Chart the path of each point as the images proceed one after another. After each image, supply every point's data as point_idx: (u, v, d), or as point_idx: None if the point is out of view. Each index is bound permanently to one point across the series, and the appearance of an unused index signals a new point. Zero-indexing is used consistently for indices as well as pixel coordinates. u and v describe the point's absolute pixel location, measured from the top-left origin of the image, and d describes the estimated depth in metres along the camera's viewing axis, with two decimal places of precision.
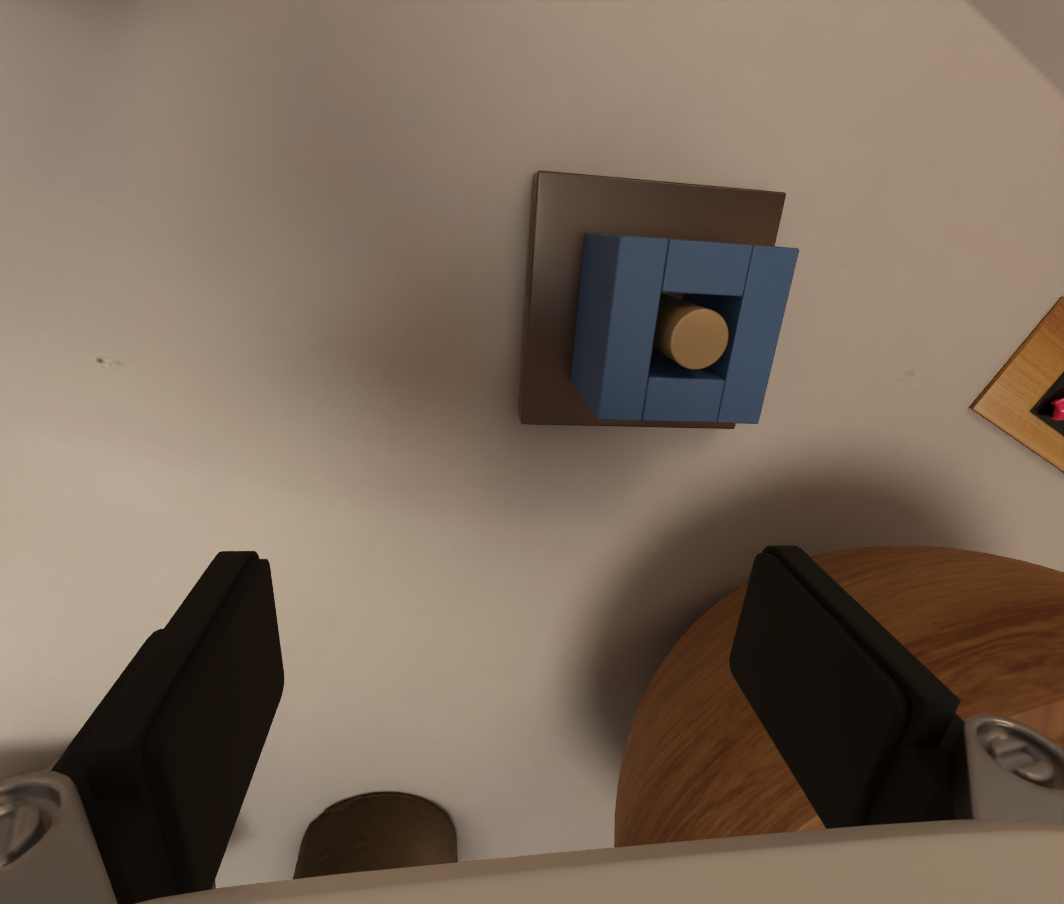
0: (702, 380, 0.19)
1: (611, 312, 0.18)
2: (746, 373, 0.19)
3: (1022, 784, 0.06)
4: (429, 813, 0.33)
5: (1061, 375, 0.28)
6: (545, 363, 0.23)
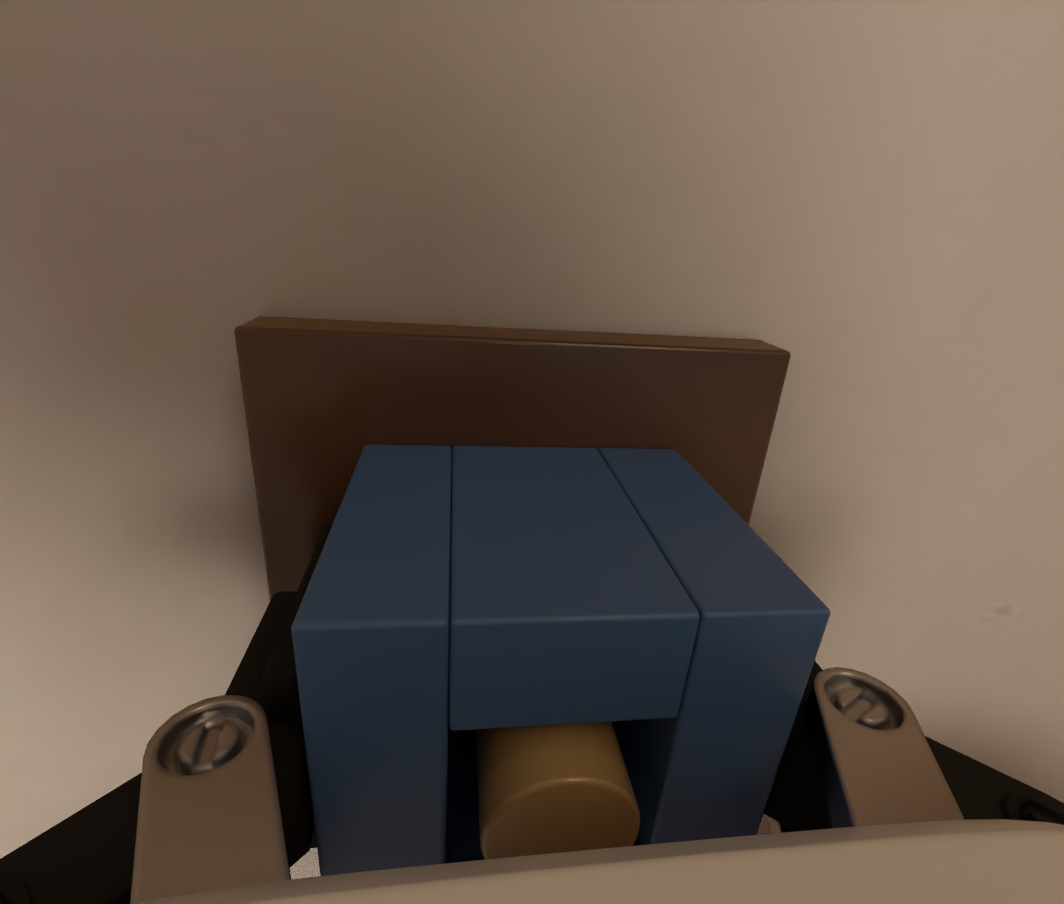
0: None
1: None
2: None
3: (869, 733, 0.07)
4: None
5: None
6: None
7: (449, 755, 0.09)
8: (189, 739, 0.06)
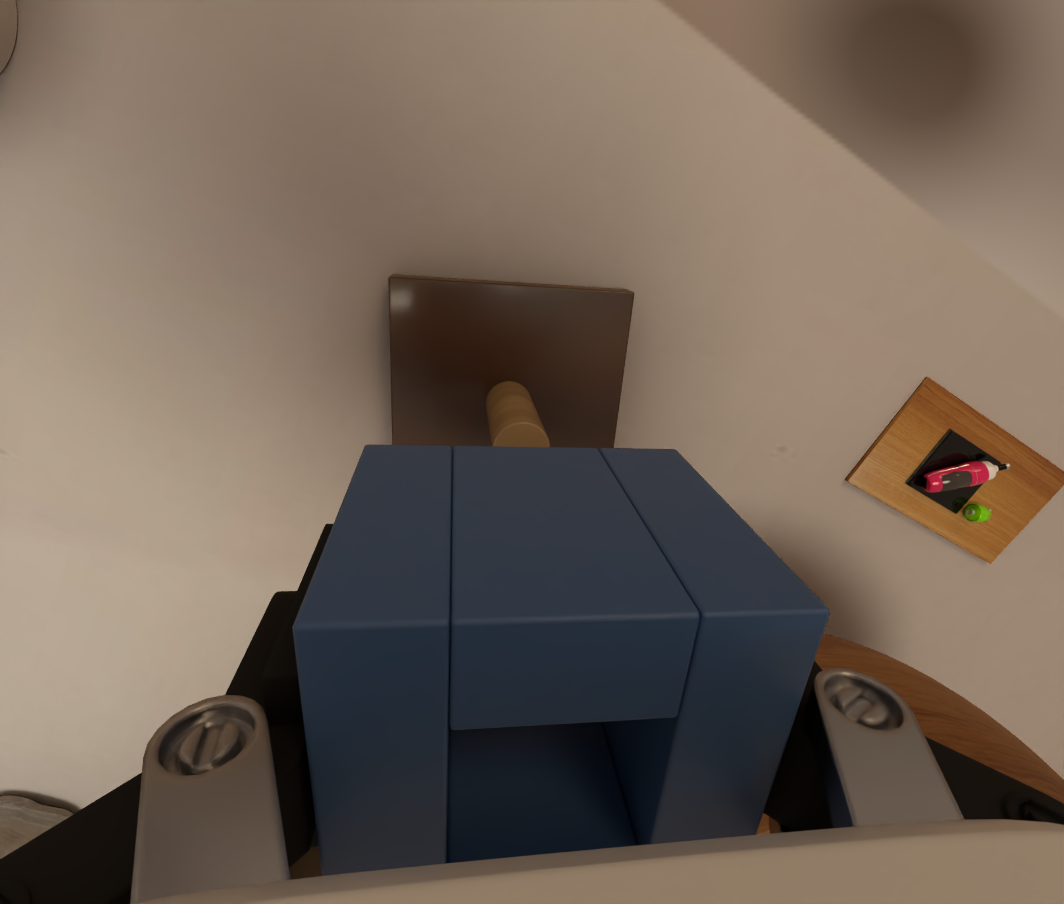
0: None
1: (311, 784, 0.06)
2: None
3: (869, 733, 0.07)
4: None
5: (933, 450, 0.29)
6: None
7: (450, 754, 0.09)
8: (189, 739, 0.06)
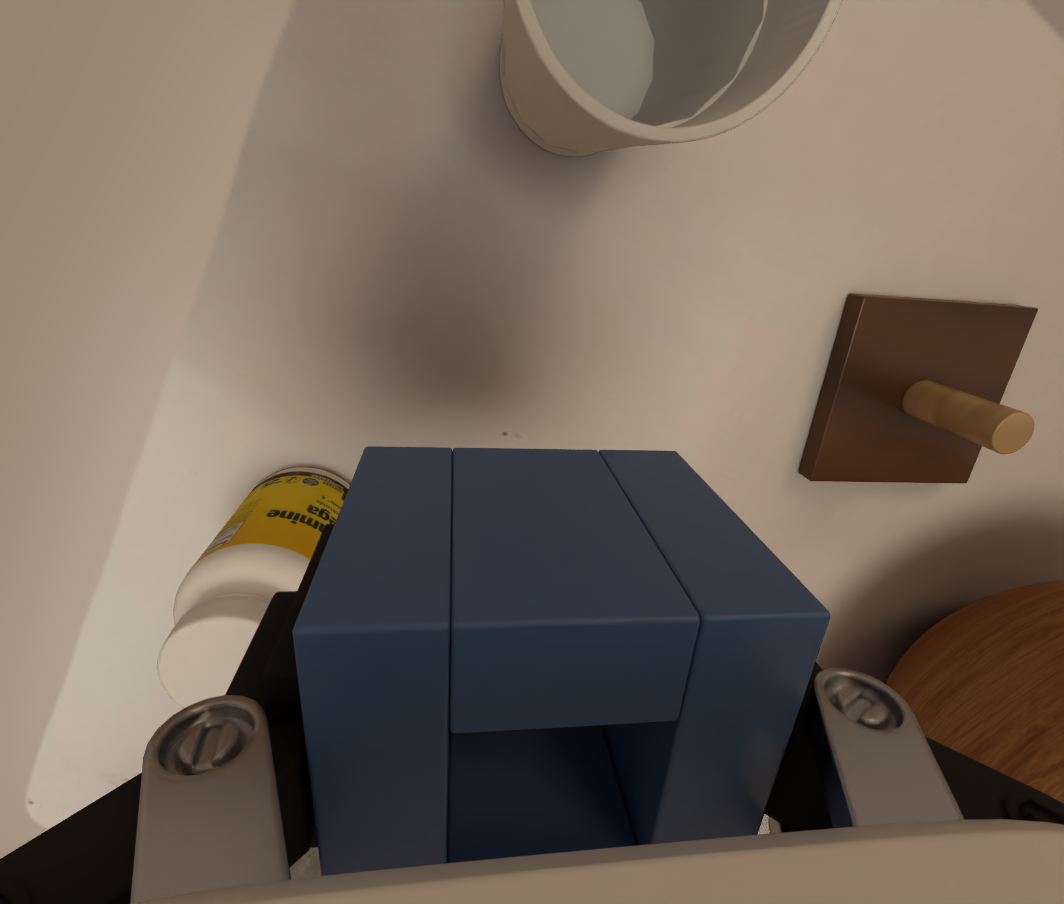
0: None
1: None
2: None
3: (868, 733, 0.07)
4: None
5: None
6: (838, 435, 0.30)
7: (450, 757, 0.09)
8: (189, 739, 0.06)
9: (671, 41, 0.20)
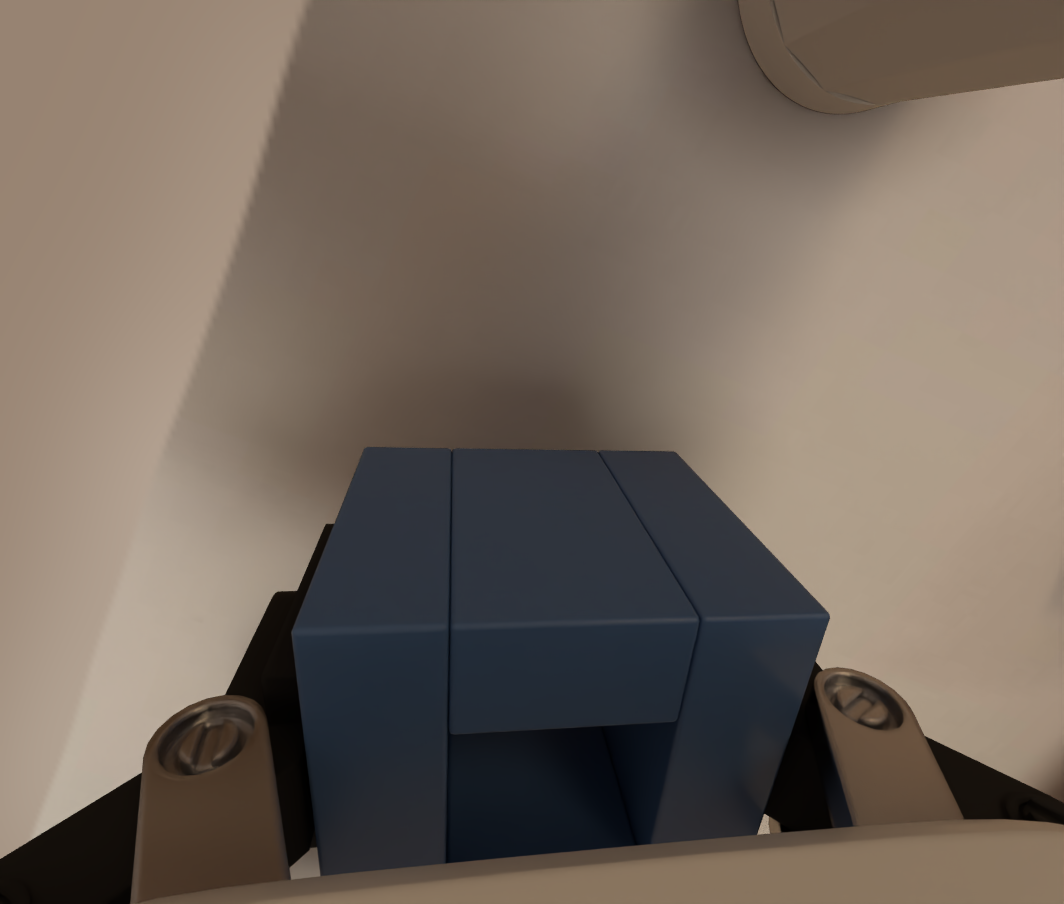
0: None
1: None
2: None
3: (869, 733, 0.07)
4: None
5: None
6: None
7: (449, 758, 0.09)
8: (189, 739, 0.06)
9: None
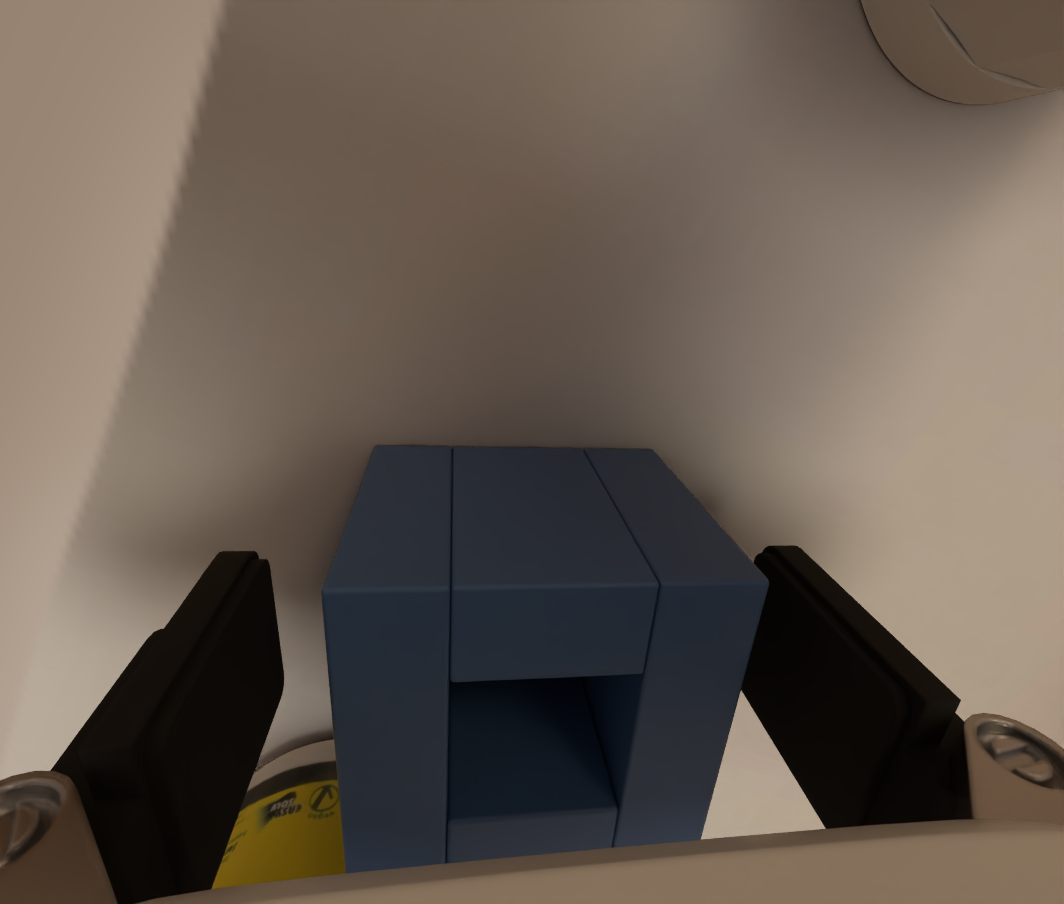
0: (568, 816, 0.09)
1: (333, 728, 0.08)
2: (662, 795, 0.09)
3: (1022, 784, 0.06)
4: None
5: None
6: None
7: (450, 719, 0.11)
8: None
9: None
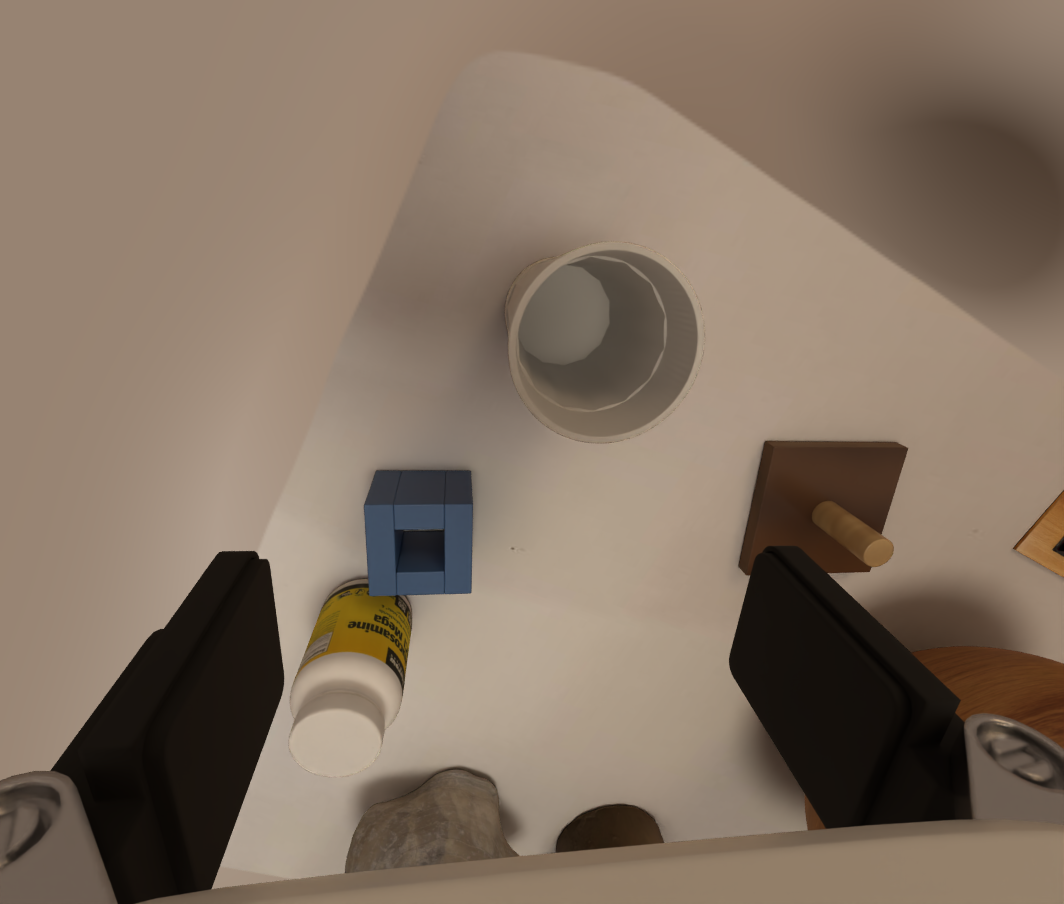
0: (429, 572, 0.33)
1: (366, 541, 0.31)
2: (456, 567, 0.33)
3: (1022, 784, 0.06)
4: (648, 819, 0.49)
5: None
6: (764, 542, 0.39)
7: (399, 555, 0.34)
8: None
9: (619, 312, 0.30)
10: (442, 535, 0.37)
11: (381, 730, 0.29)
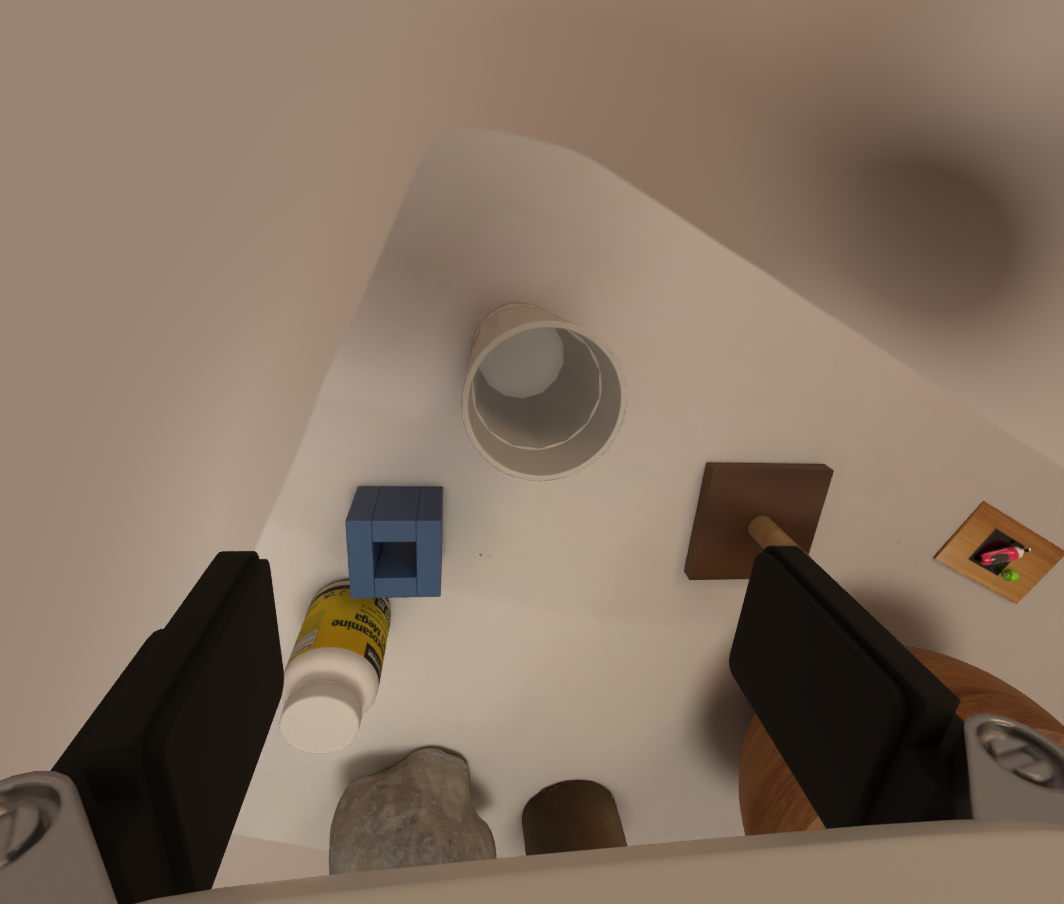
0: (403, 578, 0.37)
1: (347, 551, 0.36)
2: (426, 574, 0.37)
3: (1022, 784, 0.06)
4: (604, 793, 0.54)
5: (985, 540, 0.49)
6: (705, 551, 0.44)
7: (378, 562, 0.39)
8: None
9: (569, 356, 0.35)
10: None
11: (359, 714, 0.34)
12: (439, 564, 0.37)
